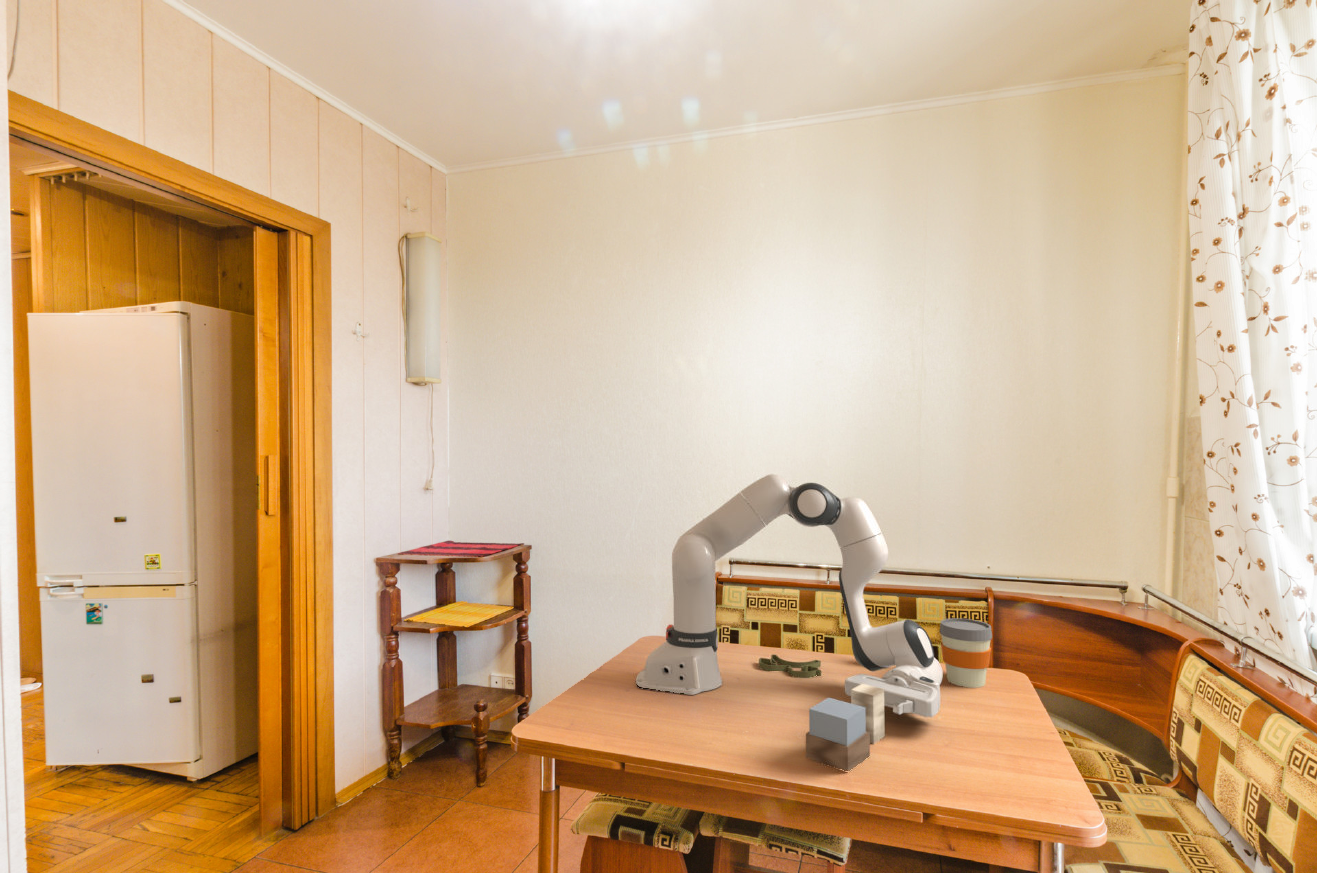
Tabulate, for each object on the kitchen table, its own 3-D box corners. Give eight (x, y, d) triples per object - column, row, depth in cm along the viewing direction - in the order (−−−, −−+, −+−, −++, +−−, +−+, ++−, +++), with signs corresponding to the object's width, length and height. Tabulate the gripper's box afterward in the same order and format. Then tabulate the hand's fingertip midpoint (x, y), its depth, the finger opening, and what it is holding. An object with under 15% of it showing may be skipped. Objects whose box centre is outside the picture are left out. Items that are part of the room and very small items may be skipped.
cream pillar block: (851, 737, 143) (851, 689, 143) (862, 730, 146) (862, 683, 146) (873, 744, 139) (873, 695, 139) (884, 736, 143) (884, 689, 143)
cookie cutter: (827, 668, 188) (827, 661, 188) (818, 682, 177) (818, 674, 178) (765, 660, 196) (765, 653, 196) (752, 672, 185) (752, 665, 185)
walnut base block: (806, 759, 133) (805, 733, 133) (828, 744, 140) (828, 720, 140) (847, 774, 127) (847, 747, 127) (869, 758, 133) (869, 732, 134)
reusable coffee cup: (1002, 683, 175) (1001, 625, 175) (975, 694, 168) (974, 633, 168) (957, 670, 185) (957, 615, 185) (930, 679, 178) (929, 622, 178)
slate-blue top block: (809, 734, 133) (809, 708, 133) (828, 722, 139) (828, 697, 139) (847, 746, 128) (847, 719, 128) (865, 732, 134) (865, 707, 134)
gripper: (860, 663, 163) (831, 678, 153) (946, 684, 149) (921, 701, 139) (860, 690, 163) (831, 706, 153) (946, 713, 149) (921, 732, 138)
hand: (874, 704), depth 145 cm, fingers open, 8 cm apart
